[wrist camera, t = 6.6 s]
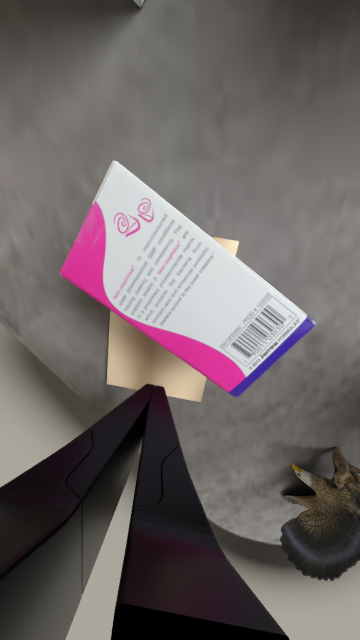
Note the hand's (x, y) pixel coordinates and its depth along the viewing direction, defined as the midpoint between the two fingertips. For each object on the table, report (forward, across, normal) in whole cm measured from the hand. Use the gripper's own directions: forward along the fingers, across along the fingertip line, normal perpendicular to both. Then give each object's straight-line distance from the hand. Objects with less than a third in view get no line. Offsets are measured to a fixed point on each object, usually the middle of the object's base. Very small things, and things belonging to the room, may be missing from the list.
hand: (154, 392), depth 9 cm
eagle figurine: (+8, -16, +12) cm, 22 cm away
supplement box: (+4, -6, -2) cm, 7 cm away
